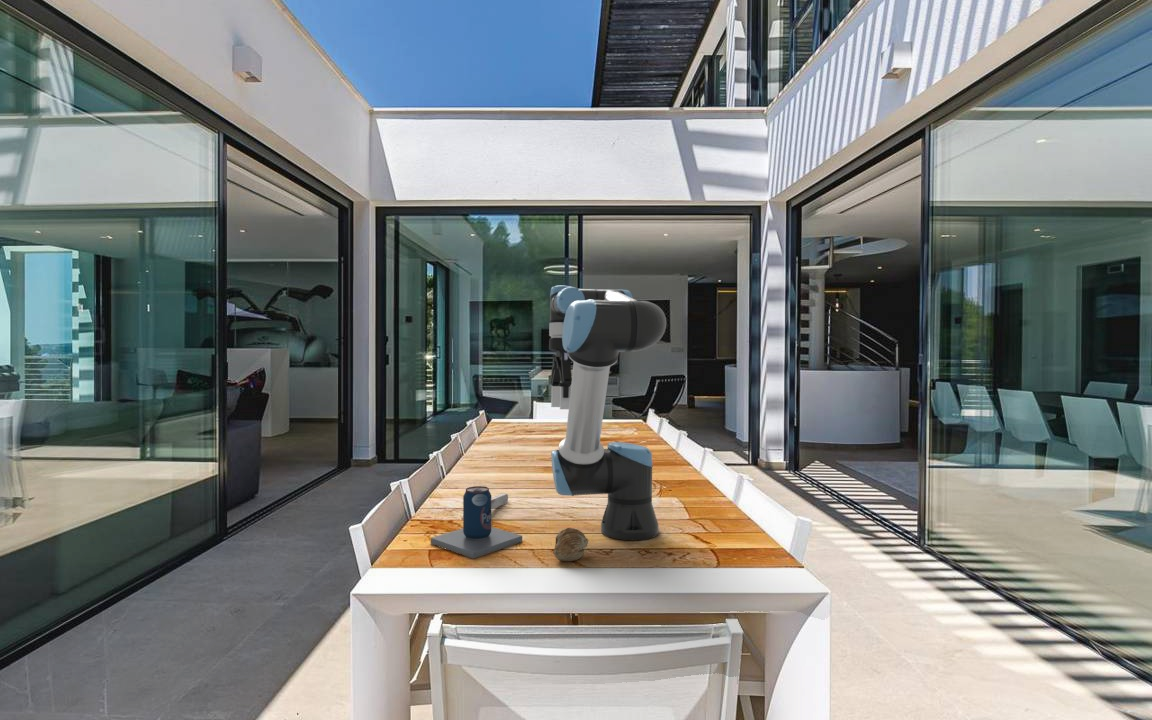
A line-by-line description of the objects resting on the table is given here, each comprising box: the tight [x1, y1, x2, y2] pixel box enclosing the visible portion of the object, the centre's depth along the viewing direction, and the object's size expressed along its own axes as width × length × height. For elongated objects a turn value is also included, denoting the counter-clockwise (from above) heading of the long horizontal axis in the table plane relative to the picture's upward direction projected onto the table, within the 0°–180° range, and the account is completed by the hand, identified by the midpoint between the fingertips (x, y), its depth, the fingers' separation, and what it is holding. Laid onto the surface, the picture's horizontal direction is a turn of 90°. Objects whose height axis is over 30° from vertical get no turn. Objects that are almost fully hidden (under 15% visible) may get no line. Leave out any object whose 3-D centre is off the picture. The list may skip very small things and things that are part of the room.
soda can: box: [462, 485, 492, 540], centre depth 153 cm, size 7×7×12 cm
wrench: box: [491, 493, 509, 510], centre depth 179 cm, size 8×2×30 cm
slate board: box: [430, 526, 523, 559], centre depth 153 cm, size 16×16×2 cm
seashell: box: [553, 527, 589, 562], centre depth 143 cm, size 9×7×8 cm
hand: (560, 408), depth 185 cm, fingers open, 13 cm apart
